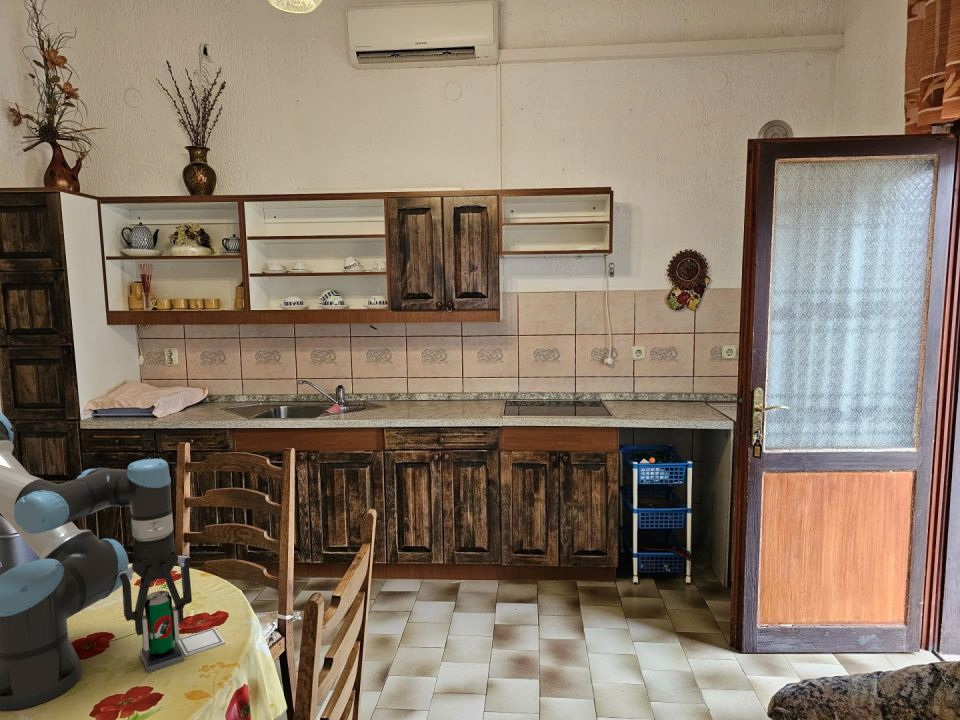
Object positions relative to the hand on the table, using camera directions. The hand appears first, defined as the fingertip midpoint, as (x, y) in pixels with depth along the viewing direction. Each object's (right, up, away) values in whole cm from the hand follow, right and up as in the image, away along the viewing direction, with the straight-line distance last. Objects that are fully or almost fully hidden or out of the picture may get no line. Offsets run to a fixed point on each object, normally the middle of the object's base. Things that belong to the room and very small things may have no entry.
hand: (161, 642), depth 132 cm
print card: (+5, -3, +6) cm, 9 cm away
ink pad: (0, -3, 0) cm, 3 cm away
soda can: (0, -2, 0) cm, 2 cm away
